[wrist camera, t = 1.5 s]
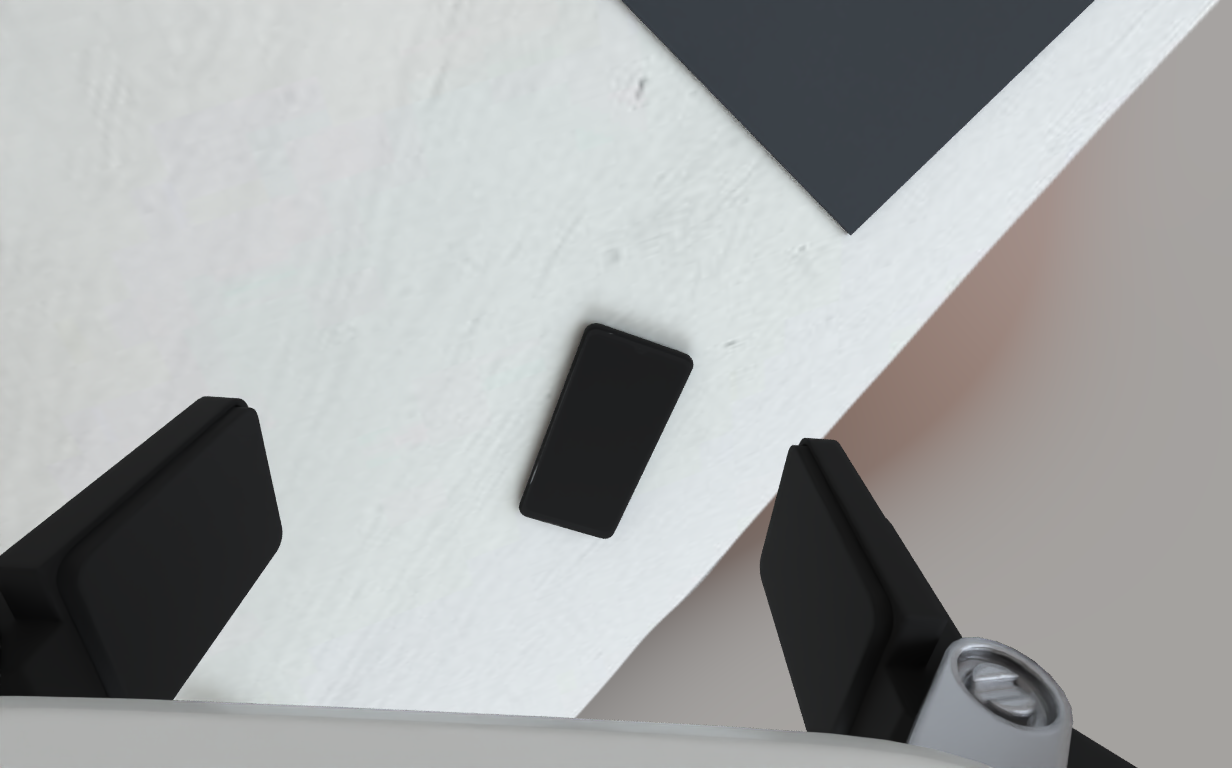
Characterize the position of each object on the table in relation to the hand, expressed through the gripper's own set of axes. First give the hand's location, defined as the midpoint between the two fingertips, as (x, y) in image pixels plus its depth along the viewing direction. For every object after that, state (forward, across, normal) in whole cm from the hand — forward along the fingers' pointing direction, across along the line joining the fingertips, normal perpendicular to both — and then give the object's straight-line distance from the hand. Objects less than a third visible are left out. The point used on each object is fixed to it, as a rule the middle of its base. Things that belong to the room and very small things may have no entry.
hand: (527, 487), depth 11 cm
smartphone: (+25, -2, +14) cm, 29 cm away
